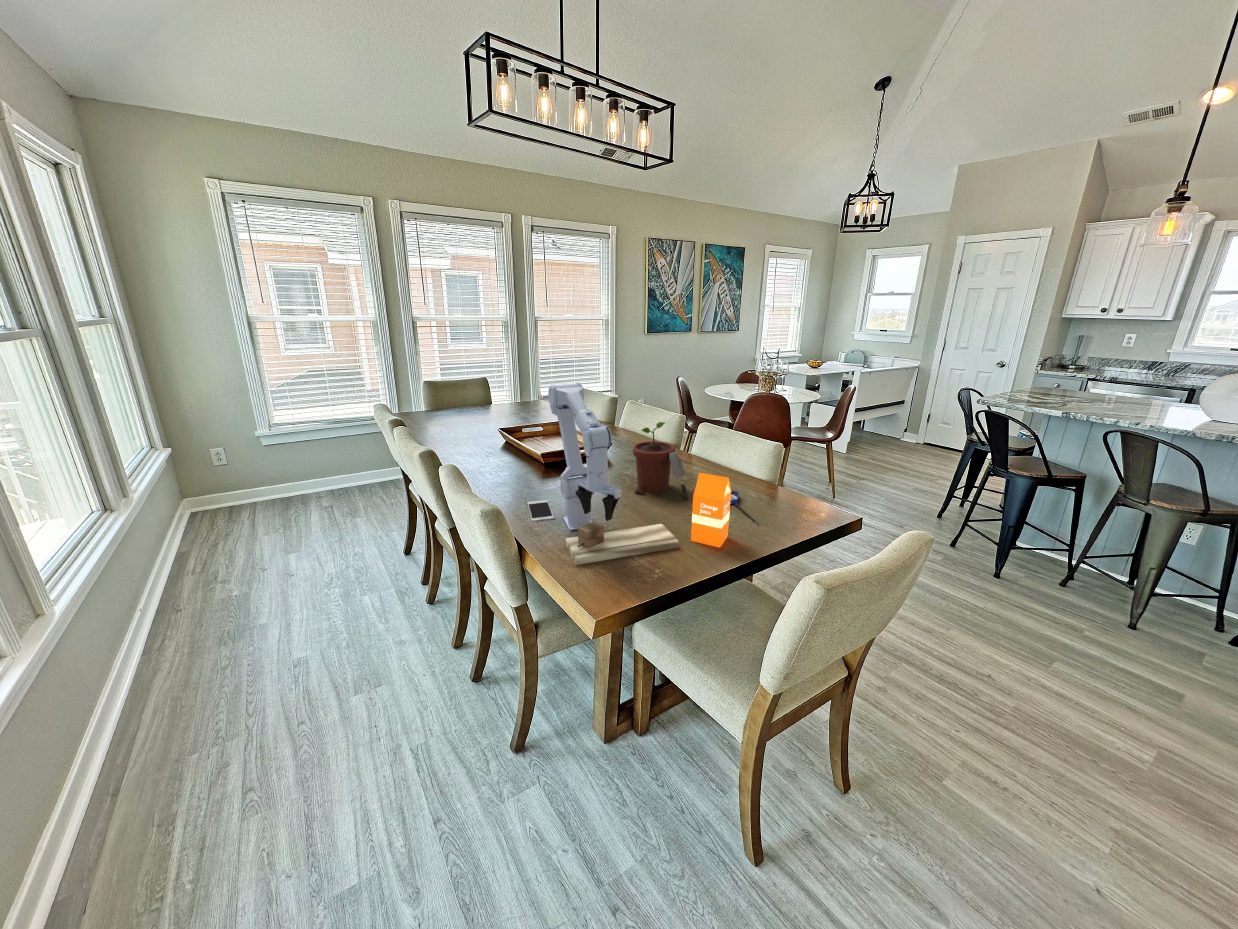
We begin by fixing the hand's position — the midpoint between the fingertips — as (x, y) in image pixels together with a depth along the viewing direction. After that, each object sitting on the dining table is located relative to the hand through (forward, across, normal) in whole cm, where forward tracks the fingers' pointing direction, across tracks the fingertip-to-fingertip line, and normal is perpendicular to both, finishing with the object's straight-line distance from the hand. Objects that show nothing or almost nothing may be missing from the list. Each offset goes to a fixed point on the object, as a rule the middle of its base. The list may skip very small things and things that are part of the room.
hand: (598, 516), depth 134 cm
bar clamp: (+10, -25, -45) cm, 53 cm away
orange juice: (+10, -24, -22) cm, 34 cm away
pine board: (+9, -6, -4) cm, 12 cm away
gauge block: (+7, 0, +3) cm, 8 cm away
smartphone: (+10, +31, -8) cm, 34 cm away
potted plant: (+10, +8, -47) cm, 48 cm away
